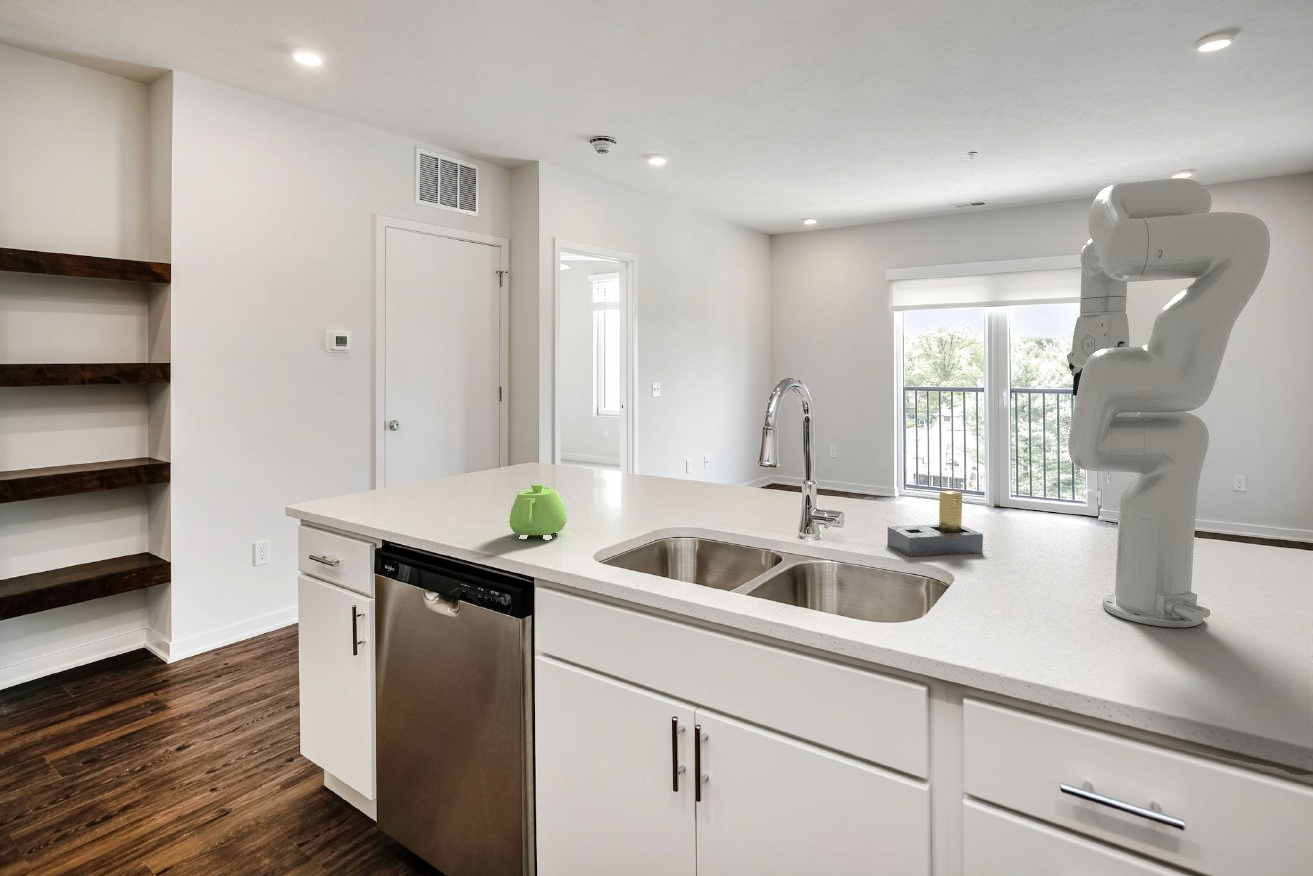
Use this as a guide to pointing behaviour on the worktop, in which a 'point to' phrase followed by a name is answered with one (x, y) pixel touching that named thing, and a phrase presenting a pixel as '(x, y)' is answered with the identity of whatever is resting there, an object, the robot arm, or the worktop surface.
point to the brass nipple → (950, 512)
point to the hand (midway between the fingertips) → (1098, 396)
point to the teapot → (538, 512)
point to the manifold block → (933, 541)
